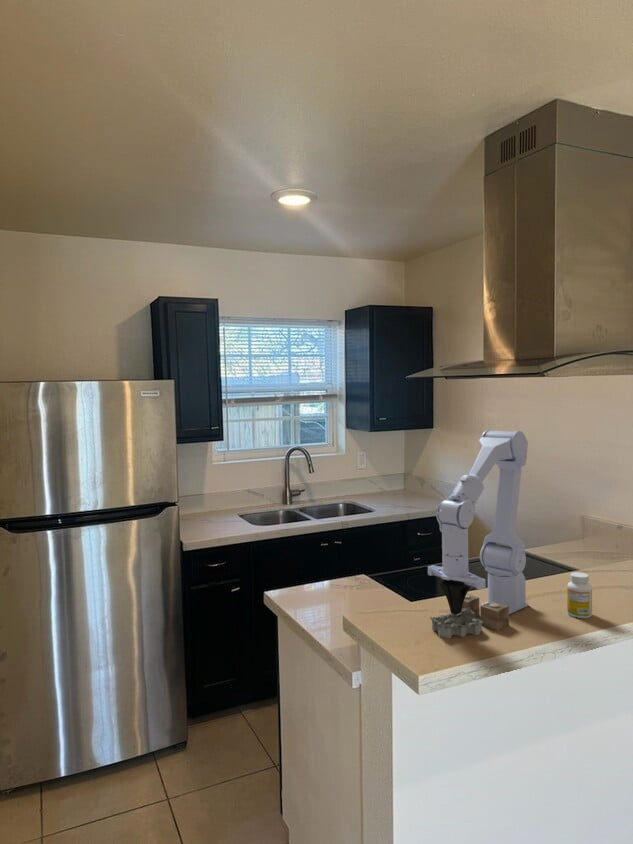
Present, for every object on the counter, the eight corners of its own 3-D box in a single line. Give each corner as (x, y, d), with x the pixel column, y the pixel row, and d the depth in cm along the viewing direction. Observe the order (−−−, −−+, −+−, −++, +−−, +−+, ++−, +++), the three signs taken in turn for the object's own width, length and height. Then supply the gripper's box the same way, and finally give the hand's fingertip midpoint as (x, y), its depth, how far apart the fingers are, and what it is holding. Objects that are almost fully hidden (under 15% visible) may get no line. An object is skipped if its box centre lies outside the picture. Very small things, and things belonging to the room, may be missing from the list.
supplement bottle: (575, 608, 144) (575, 569, 144) (596, 615, 140) (596, 574, 139) (562, 614, 141) (562, 574, 141) (584, 620, 137) (584, 579, 136)
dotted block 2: (492, 620, 139) (491, 600, 139) (508, 625, 135) (508, 605, 135) (480, 625, 136) (480, 605, 136) (497, 630, 133) (497, 610, 132)
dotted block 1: (464, 610, 145) (463, 592, 145) (479, 615, 142) (479, 596, 141) (452, 615, 142) (452, 596, 142) (468, 620, 139) (467, 601, 138)
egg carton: (471, 623, 138) (471, 606, 137) (486, 636, 130) (486, 618, 130) (428, 627, 136) (428, 609, 136) (440, 640, 128) (440, 622, 128)
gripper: (418, 550, 135) (419, 608, 136) (471, 563, 124) (472, 626, 125) (438, 545, 140) (439, 601, 140) (490, 557, 129) (491, 618, 129)
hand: (455, 612), depth 133 cm, fingers closed
